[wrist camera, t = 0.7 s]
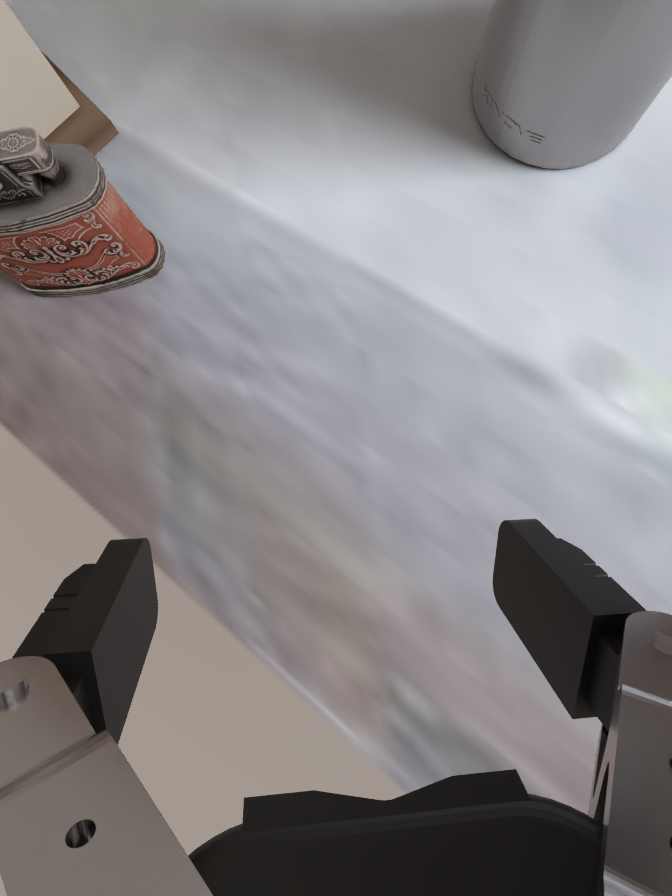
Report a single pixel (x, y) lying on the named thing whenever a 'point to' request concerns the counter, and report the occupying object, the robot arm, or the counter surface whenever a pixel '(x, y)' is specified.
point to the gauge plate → (28, 81)
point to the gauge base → (82, 121)
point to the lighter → (67, 221)
